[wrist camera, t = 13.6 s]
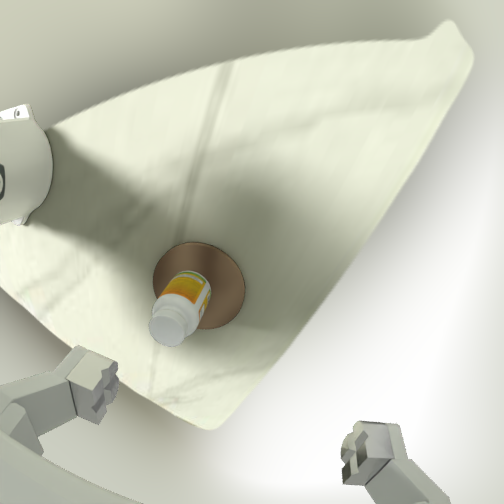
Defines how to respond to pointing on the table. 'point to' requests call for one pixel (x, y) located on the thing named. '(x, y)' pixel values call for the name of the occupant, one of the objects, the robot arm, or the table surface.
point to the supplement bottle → (179, 308)
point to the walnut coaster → (215, 272)
